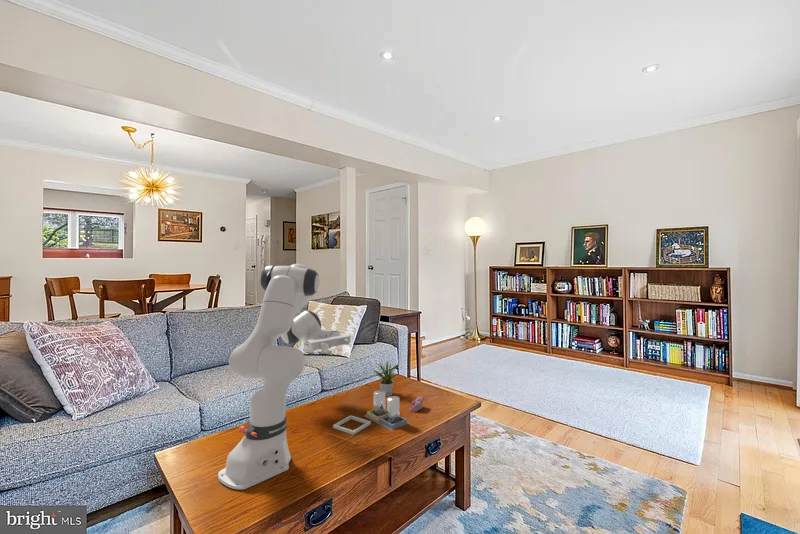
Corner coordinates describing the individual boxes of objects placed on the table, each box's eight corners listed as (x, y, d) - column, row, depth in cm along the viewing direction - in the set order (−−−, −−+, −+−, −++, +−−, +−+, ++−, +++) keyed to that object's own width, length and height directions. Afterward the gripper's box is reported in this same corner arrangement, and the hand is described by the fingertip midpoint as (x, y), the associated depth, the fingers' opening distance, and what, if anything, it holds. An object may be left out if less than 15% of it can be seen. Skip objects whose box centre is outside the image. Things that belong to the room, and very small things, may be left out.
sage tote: (353, 438, 138) (353, 431, 138) (332, 430, 143) (332, 425, 143) (370, 427, 146) (370, 421, 146) (350, 420, 152) (350, 415, 152)
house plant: (392, 386, 193) (392, 355, 192) (408, 394, 181) (407, 361, 181) (369, 392, 185) (368, 360, 184) (383, 401, 173) (383, 366, 173)
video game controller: (416, 418, 157) (423, 404, 157) (407, 413, 158) (414, 399, 157) (419, 409, 167) (426, 396, 166) (410, 404, 168) (417, 391, 167)
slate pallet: (410, 425, 147) (410, 419, 147) (391, 433, 141) (391, 426, 141) (382, 411, 161) (382, 405, 161) (363, 418, 154) (363, 412, 154)
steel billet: (380, 419, 151) (380, 395, 150) (371, 416, 153) (370, 392, 153) (387, 415, 155) (387, 391, 155) (378, 412, 158) (378, 389, 157)
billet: (395, 426, 144) (394, 401, 144) (384, 423, 147) (384, 399, 146) (402, 421, 148) (401, 397, 148) (391, 419, 151) (391, 395, 151)
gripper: (301, 336, 163) (317, 341, 153) (341, 330, 177) (357, 334, 167) (302, 350, 164) (317, 356, 153) (341, 342, 177) (357, 348, 167)
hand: (338, 344), depth 160 cm, fingers open, 8 cm apart
